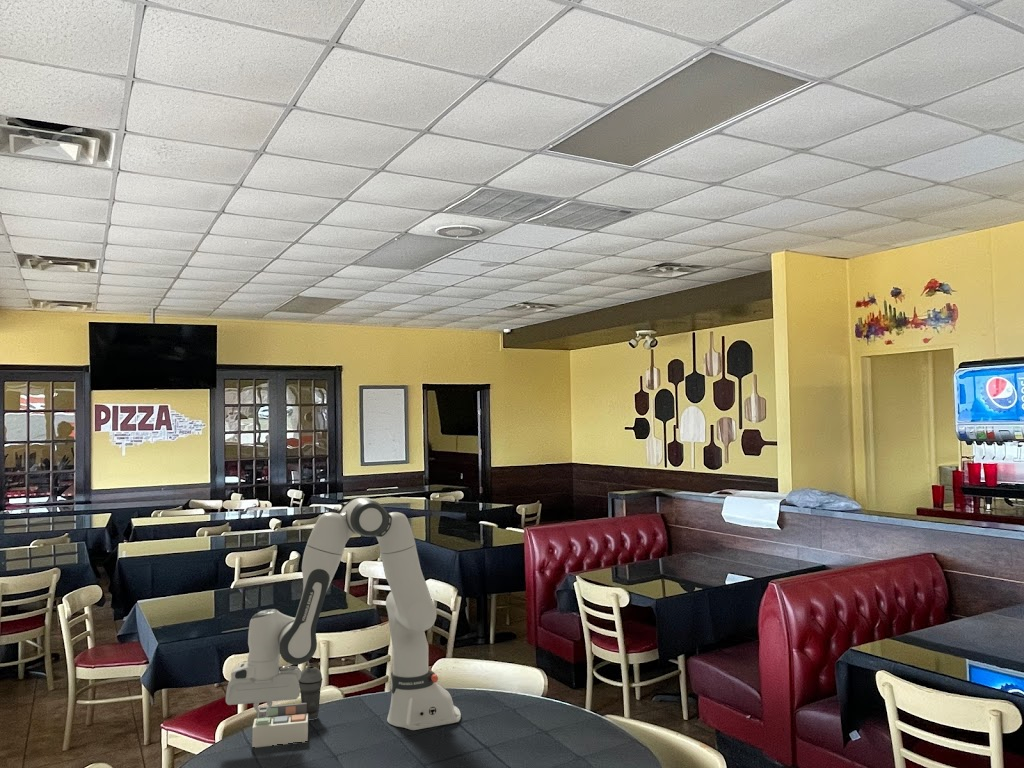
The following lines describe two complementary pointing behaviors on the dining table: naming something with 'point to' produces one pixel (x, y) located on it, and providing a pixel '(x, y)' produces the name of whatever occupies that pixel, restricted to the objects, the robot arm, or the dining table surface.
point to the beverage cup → (311, 690)
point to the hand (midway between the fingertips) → (262, 717)
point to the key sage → (263, 721)
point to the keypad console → (281, 726)
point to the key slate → (281, 719)
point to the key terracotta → (298, 718)
